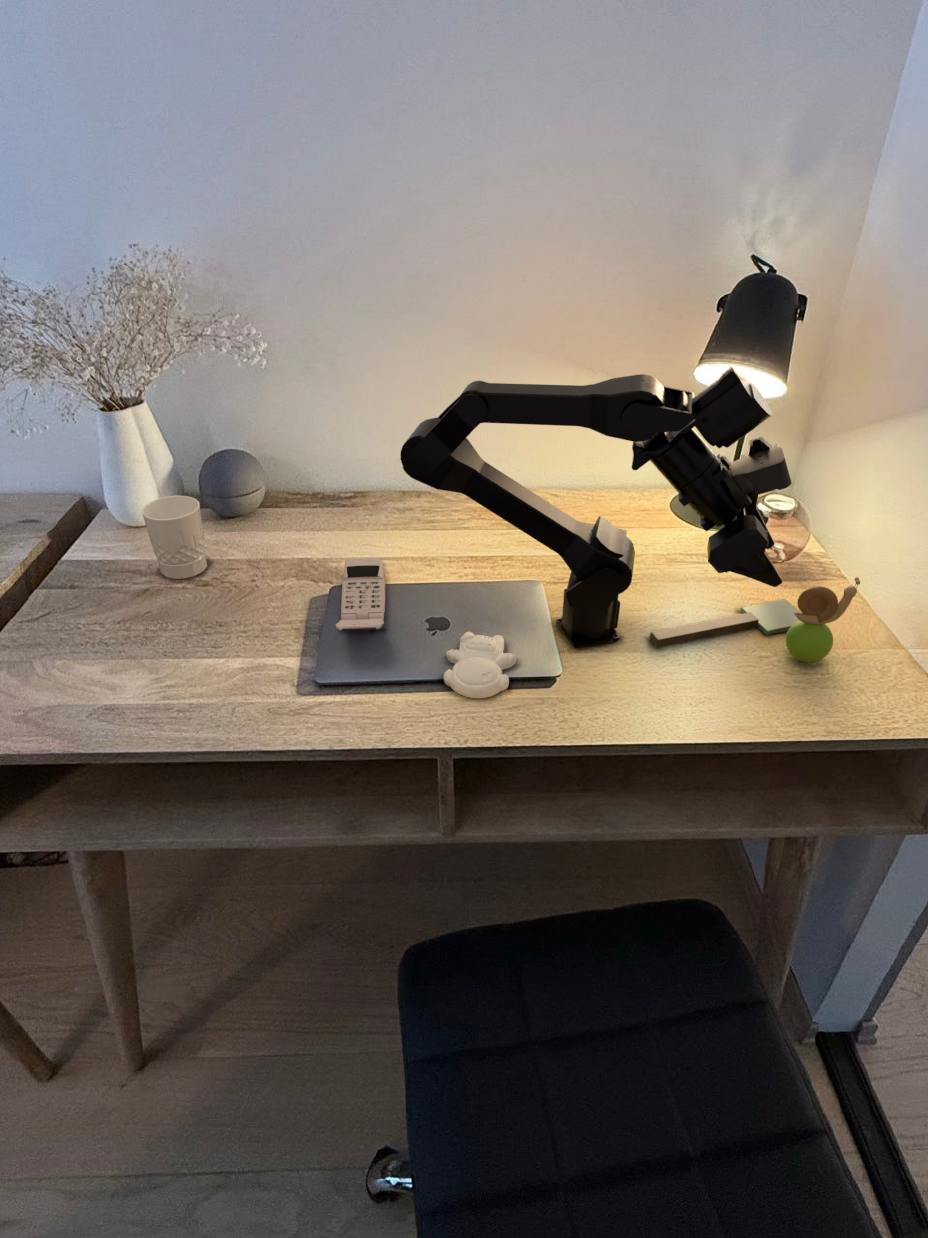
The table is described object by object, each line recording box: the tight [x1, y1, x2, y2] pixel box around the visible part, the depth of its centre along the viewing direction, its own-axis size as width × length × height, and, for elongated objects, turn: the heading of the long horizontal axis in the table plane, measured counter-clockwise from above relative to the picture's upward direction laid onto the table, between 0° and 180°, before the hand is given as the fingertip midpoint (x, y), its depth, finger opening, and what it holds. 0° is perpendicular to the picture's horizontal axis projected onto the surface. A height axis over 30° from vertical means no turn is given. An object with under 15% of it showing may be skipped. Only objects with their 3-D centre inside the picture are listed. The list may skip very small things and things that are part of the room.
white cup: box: [141, 495, 208, 580], centre depth 120 cm, size 8×8×10 cm
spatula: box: [649, 598, 802, 648], centre depth 109 cm, size 22×6×1 cm, turn 108°
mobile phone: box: [335, 557, 386, 631], centre depth 111 cm, size 6×6×25 cm
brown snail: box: [785, 576, 861, 663], centre depth 101 cm, size 5×6×12 cm
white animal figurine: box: [443, 631, 518, 699], centre depth 101 cm, size 9×12×3 cm
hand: (774, 564), depth 98 cm, fingers open, 9 cm apart
